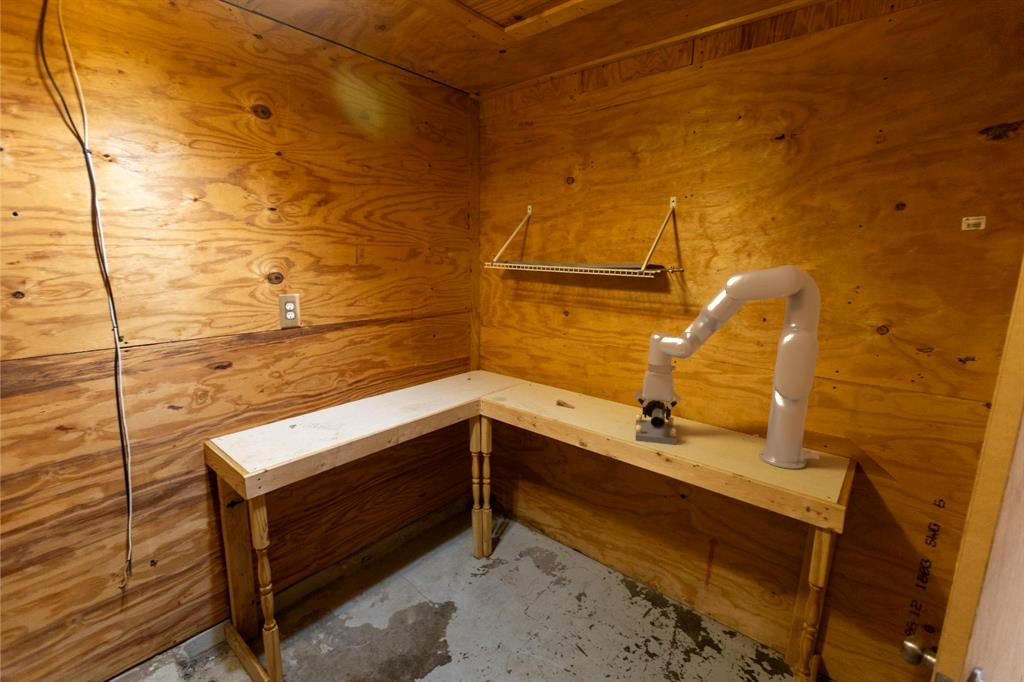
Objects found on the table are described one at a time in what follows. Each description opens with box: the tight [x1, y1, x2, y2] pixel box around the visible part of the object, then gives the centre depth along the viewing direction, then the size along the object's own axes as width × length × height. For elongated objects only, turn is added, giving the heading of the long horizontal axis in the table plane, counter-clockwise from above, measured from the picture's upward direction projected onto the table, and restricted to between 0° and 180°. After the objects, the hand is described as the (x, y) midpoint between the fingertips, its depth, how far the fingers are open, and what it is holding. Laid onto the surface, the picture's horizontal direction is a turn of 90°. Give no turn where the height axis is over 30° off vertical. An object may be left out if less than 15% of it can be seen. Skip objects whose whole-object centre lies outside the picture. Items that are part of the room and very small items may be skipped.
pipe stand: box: [635, 413, 677, 446], centre depth 162 cm, size 13×16×4 cm
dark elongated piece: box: [647, 400, 666, 429], centre depth 161 cm, size 18×7×6 cm, turn 161°
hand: (656, 417), depth 161 cm, fingers closed on dark elongated piece, 6 cm apart
